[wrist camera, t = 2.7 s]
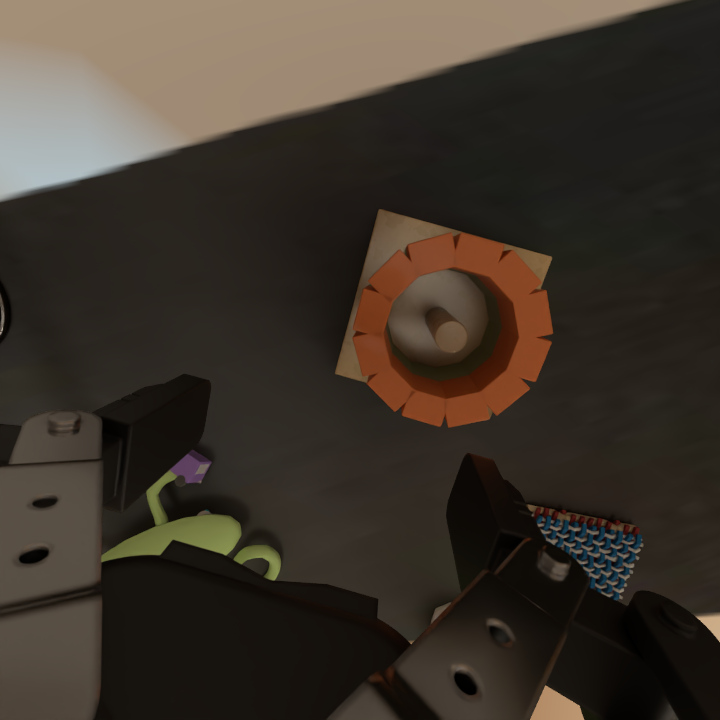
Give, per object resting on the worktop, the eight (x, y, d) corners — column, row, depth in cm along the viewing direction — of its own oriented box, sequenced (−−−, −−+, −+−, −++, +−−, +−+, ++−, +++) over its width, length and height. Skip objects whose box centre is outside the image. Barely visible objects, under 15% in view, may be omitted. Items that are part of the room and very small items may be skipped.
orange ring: (342, 379, 30) (333, 396, 26) (386, 218, 27) (384, 210, 23) (494, 423, 29) (509, 447, 25) (556, 266, 26) (583, 266, 22)
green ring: (348, 366, 33) (342, 379, 30) (387, 224, 30) (386, 218, 27) (482, 405, 33) (494, 423, 29) (535, 266, 30) (556, 266, 26)
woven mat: (639, 520, 36) (653, 534, 34) (603, 611, 38) (614, 629, 36) (526, 497, 36) (534, 510, 34) (497, 589, 39) (503, 606, 37)
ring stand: (337, 369, 35) (314, 408, 25) (379, 211, 32) (371, 186, 22) (486, 412, 35) (520, 468, 25) (545, 257, 31) (612, 253, 22)
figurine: (10, 470, 41) (-49, 500, 36) (242, 423, 37) (215, 449, 32) (77, 611, 45) (33, 659, 40) (294, 582, 41) (278, 630, 36)
